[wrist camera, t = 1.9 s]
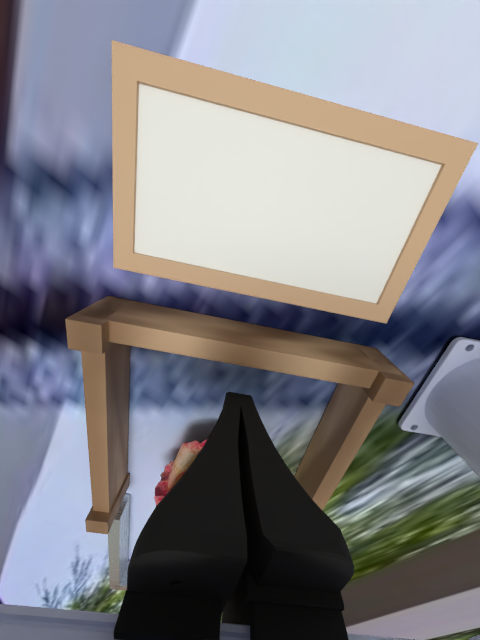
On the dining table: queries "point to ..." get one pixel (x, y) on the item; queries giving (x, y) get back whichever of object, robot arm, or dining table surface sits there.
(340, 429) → the wooden frame
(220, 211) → the frame lid
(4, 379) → the dining table surface
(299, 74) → the dining table surface
